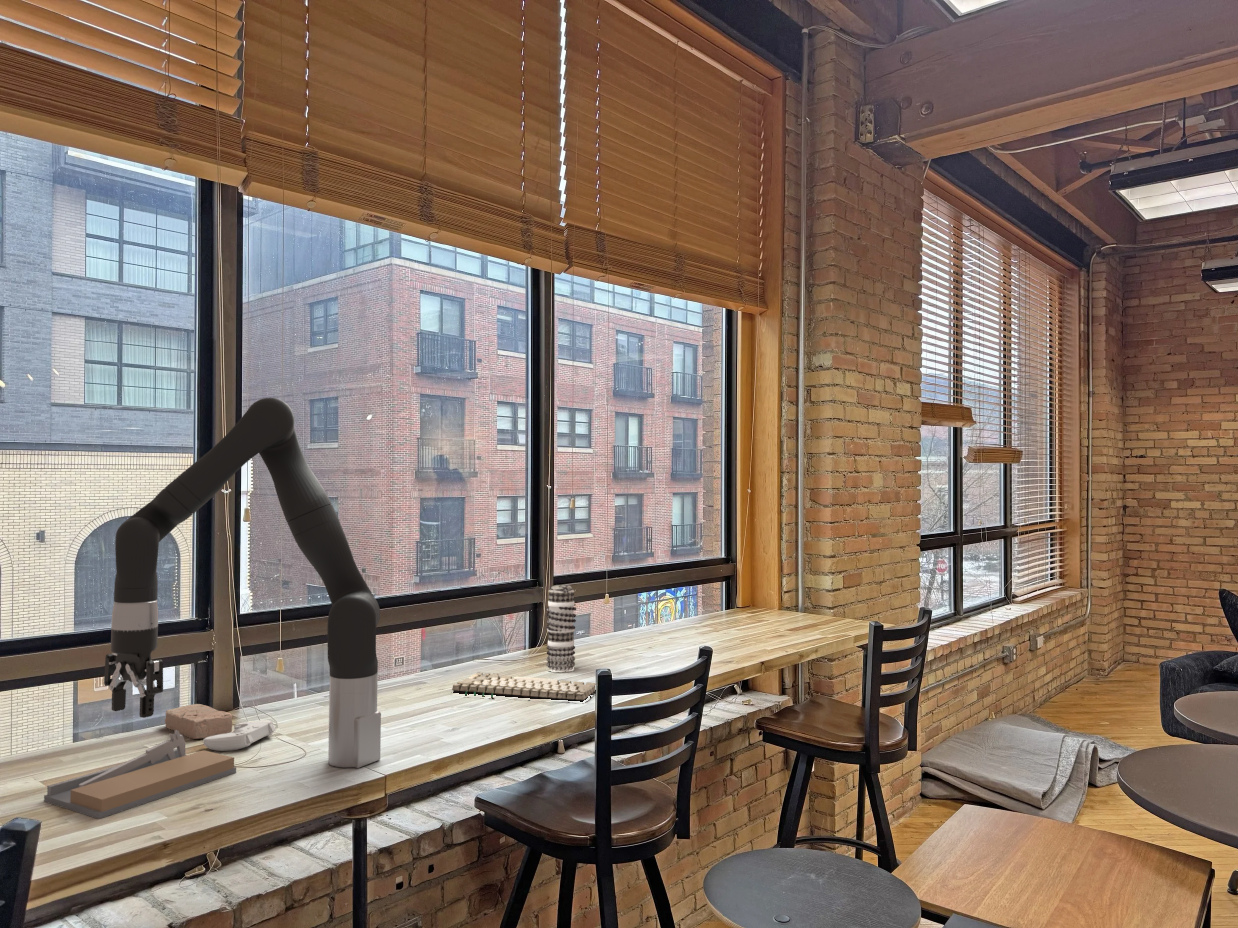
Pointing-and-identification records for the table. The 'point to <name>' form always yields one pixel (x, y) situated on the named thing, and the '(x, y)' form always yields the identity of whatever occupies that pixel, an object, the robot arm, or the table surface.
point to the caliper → (145, 758)
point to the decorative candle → (561, 628)
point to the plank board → (139, 784)
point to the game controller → (240, 736)
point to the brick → (198, 721)
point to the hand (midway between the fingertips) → (132, 713)
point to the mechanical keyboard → (524, 687)
